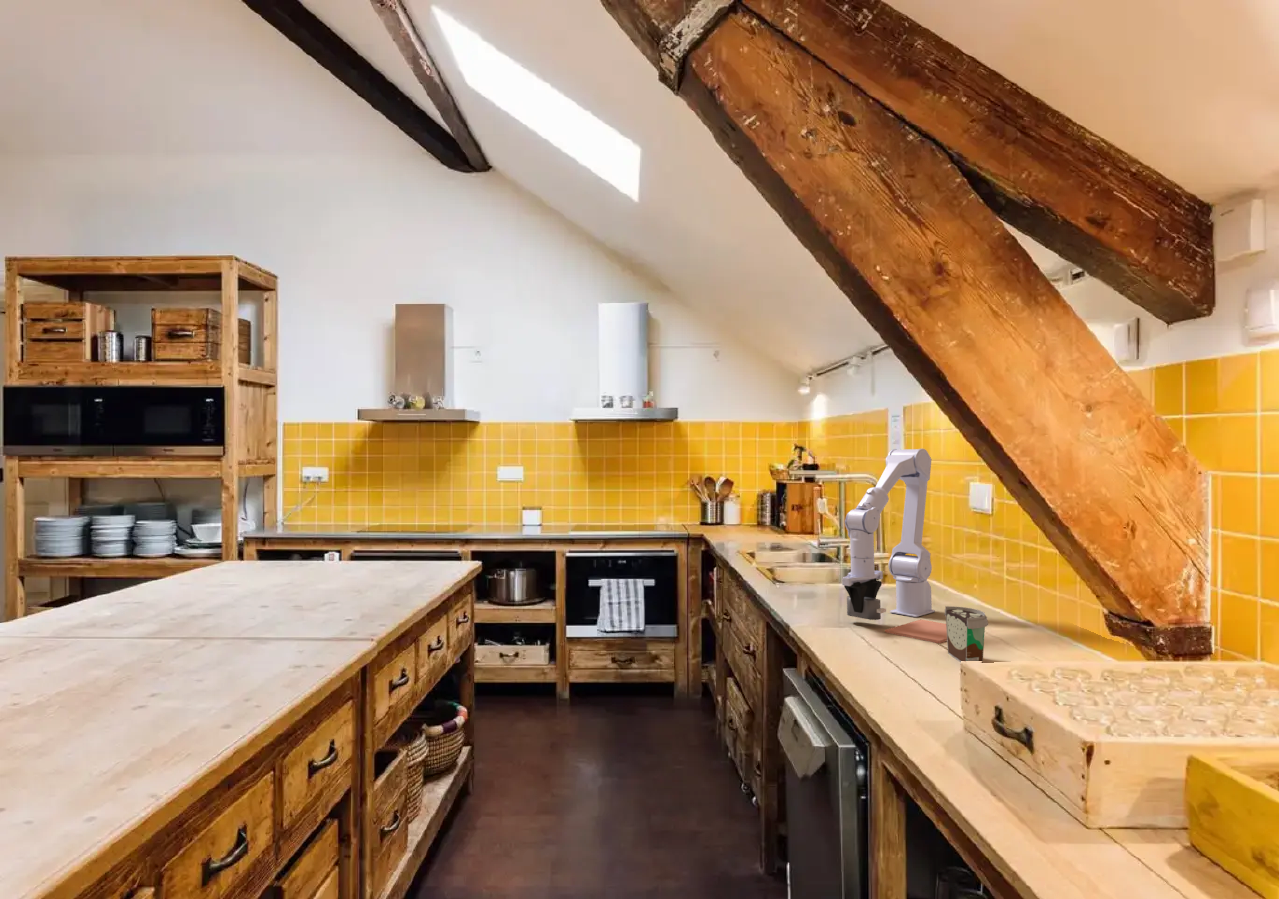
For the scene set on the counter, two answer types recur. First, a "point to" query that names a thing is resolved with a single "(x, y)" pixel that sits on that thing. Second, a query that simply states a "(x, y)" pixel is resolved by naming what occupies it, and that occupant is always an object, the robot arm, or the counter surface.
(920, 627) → the mat
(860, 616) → the plug
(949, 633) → the food container
